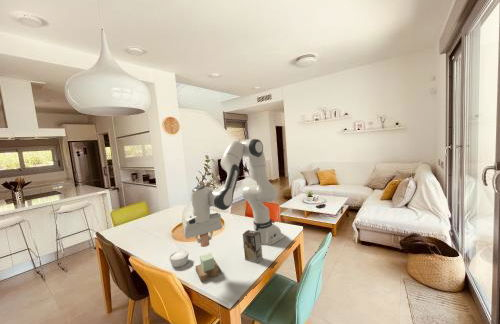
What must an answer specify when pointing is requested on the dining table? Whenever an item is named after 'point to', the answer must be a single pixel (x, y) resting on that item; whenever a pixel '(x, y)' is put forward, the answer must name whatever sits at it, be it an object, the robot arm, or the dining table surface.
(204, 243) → the reddish pink cylinder
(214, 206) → the robot arm
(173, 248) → the dining table surface
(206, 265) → the green cube
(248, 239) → the coffee box
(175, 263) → the ramekin
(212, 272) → the walnut base
